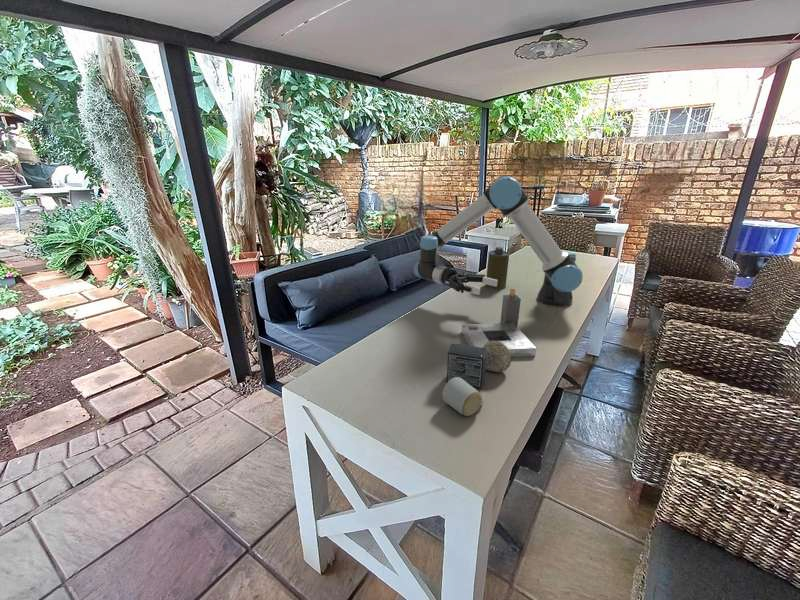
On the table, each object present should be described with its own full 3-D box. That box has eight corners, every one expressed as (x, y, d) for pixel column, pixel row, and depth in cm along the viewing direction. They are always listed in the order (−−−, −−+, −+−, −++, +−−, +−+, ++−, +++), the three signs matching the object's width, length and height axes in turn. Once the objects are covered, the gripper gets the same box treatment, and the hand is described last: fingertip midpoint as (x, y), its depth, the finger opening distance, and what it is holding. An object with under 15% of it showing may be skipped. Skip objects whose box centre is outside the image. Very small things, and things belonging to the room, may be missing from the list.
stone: (483, 360, 120) (485, 333, 116) (511, 371, 114) (515, 342, 111) (473, 368, 115) (476, 340, 112) (502, 379, 110) (506, 350, 106)
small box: (484, 378, 111) (487, 347, 107) (482, 390, 105) (485, 358, 101) (450, 371, 114) (451, 341, 110) (445, 383, 108) (447, 351, 104)
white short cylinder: (462, 422, 92) (465, 396, 89) (440, 406, 98) (442, 381, 95) (490, 407, 98) (493, 382, 95) (468, 392, 104) (470, 368, 101)
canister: (508, 289, 184) (512, 250, 177) (487, 289, 185) (491, 250, 177) (503, 282, 195) (507, 245, 187) (483, 282, 195) (486, 245, 188)
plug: (512, 322, 148) (516, 287, 142) (517, 327, 143) (521, 291, 138) (500, 323, 147) (504, 287, 142) (504, 328, 143) (508, 292, 137)
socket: (512, 329, 141) (513, 321, 140) (535, 355, 123) (536, 346, 121) (461, 331, 140) (462, 323, 138) (476, 358, 121) (477, 349, 120)
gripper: (460, 277, 170) (502, 288, 156) (426, 290, 152) (470, 304, 139) (461, 262, 167) (504, 271, 154) (427, 273, 150) (472, 285, 136)
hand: (488, 287), depth 146 cm, fingers open, 13 cm apart
